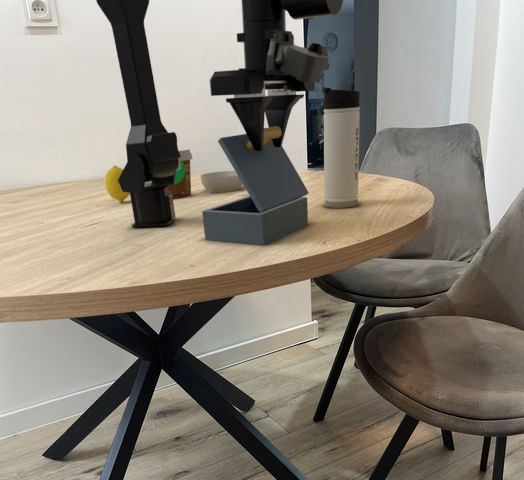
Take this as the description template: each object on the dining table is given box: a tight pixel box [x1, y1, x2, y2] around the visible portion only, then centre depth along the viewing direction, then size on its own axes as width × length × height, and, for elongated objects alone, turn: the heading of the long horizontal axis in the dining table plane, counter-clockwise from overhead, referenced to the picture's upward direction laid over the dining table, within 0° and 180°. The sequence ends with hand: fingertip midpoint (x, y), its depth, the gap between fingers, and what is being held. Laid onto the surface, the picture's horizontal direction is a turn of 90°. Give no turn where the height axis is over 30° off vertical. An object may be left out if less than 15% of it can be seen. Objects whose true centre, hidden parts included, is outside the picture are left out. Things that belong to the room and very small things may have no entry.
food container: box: [149, 149, 193, 200], centre depth 116 cm, size 12×6×10 cm, turn 76°
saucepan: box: [199, 170, 244, 193], centre depth 122 cm, size 11×18×4 cm, turn 54°
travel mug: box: [321, 87, 361, 209], centre depth 93 cm, size 6×7×20 cm
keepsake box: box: [201, 195, 309, 246], centre depth 81 cm, size 11×14×4 cm
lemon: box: [104, 165, 130, 203], centre depth 115 cm, size 6×6×8 cm
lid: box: [217, 126, 310, 212], centre depth 75 cm, size 11×14×4 cm
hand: (268, 149), depth 75 cm, fingers closed on lid, 5 cm apart
